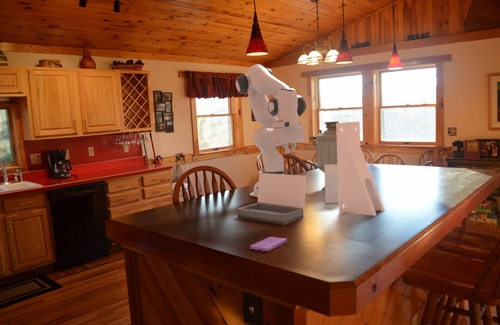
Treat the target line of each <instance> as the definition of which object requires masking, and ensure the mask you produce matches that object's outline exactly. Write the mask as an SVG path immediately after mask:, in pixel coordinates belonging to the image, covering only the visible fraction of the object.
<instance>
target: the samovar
mask: <svg viewBox="0 0 500 325" xmlns="http://www.w3.org/2000/svg"><path fill="white" fill-rule="evenodd" d="M323 123H324V124H325V127H326V129H325V130H324V131H323V130H322V129H320V130H318V132H319V133H318V134H316V135H315V136H311V137H309V140H310V141H312V145H313V146H314V147H315V148H316V150H315V151H316V167H317V168H318V170H320V171H321V172H322V173H323V174H325V167H324V165H332V164H337V136H336V123H340V121H339V120H337V121H324V122H323ZM322 131H323V132H322ZM340 132H341V130H340ZM315 140H316V142H315ZM321 190H322V191H325V185H324V187H322V188H321Z"/></svg>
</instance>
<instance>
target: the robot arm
mask: <svg viewBox="0 0 500 325" xmlns="http://www.w3.org/2000/svg"><path fill="white" fill-rule="evenodd" d="M235 87H236V90H237V91H238V93H239V94H241V95H247V94H248V101H249V105H250V108H251V111H252V114H253V116H254V119H255V122H256V123H257V124H258V125H260V126H262V127H260V128H257V129H255V130H254V131H253V133H252V137H251V138H252V142H253V144H254V145H255V146H256V148H258V149H259V150H260V153H261V155H262V157H263V165H264V166H263V167H264V171H263V172H262V171H261V173H269V174H286V171H285V162H284V159H285V158H284V156H283V155H282V154H281V153H280V152H278V151H279V150H278V149H277V147H279V146H282V147H283V149H284V153H285V154H290V153H295V152H296V147H297V143H302V142H305V131H304V130H305V129H304V127H303V125H302V123H301V122H299V117H300V116H302V115H303V114H304V113H305V111H306V109H307V104H306V100H305V99H304V98H303V96H302V95H300V94H297V90H296V89H295V88H292V87H289V86H288V85H287V84H286V83H285V82H284V81H282V80H279V79H277V78H276V77H275V76H274V73H273V71H272V70H271V69H270V68H266V67H264V66H263V65H262V64H258V63H257V64H253V65H252V66H250V67H249V69H248V71H247V73H245V74H241V75H239V76H238V77H236V79H235ZM267 95H270V96H273V97H271V98H270V99H269V98H268V96H267ZM289 144H290V145H291V148H289ZM258 188H259V180H258V181H257V182H256V183H255V184H254V186H253V192H250V194H249V195H250V196H251V197H255V198H256V197H257V198H258Z"/></svg>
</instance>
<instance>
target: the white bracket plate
mask: <svg viewBox="0 0 500 325" xmlns="http://www.w3.org/2000/svg"><path fill="white" fill-rule="evenodd" d="M360 123H361V122H360V121H349V122H345V121H344V122H339V123H336V136H337V167H338V199H339V203H338V215H340V214H341V215H343V214H345V213H348V214H349V213H350V214H355V215H366V216H374V217H375V216H377V212H376V211H378V212H382V213H383V212H386V211H385V210H386V209H385V207H384V205H383V202H382V199H381V197H380V194H379V192H378V189H377V187H376V185H375V181H374V179H373V176H372V174H371V172H370V168H369V166H368V163H367V161H366V158H365V155H364V153H363V150H362V148H361V130H360V128H361V126H360ZM340 131H341V132H340Z"/></svg>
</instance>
